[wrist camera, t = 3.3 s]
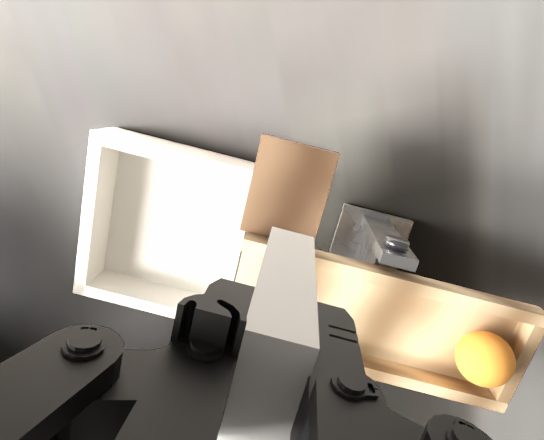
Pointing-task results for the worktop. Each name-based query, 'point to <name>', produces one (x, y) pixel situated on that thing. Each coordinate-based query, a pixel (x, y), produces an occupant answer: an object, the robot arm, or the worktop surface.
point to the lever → (382, 287)
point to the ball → (485, 359)
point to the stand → (374, 238)
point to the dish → (157, 220)
